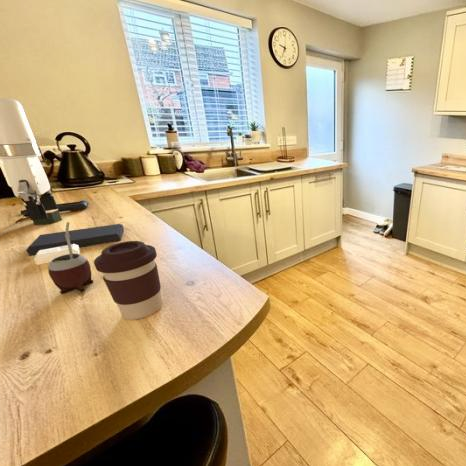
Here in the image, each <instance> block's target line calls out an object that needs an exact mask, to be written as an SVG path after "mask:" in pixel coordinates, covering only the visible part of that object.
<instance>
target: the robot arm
mask: <svg viewBox="0 0 466 466" xmlns="http://www.w3.org/2000/svg"><path fill="white" fill-rule="evenodd" d="M41 156H42V153H41V150H40V147H39V145H38V143H37V140H36V137H35V136H34V133H33V131H32V128H31V125H30V123H29V120H28V118H27V116H26V113H25V111H24V108H23V106H22V104H21V103H20V102H19V101H18V100H16V99H13V98H7V97H0V159H1V160H2V164H3V167H4V171H5V174H6V177H7V180H8V182H9V184H10V187H11V190H12V192H13V194H14V196H15V197H16V198H19V199H20V200H21V201H22V203H23V206H24V208H25V210H27V212H28V214H29V217H28V218H29V219H30V220H31V221H33V220H40V219H47V218H48V216H47V213H46V211H48V210H56V209H58V207H57V204H58V203H57V201H56V199H55V197H54V195H53V192H52V191H50V190H51V184H50V181H49V179H48V176H47V174H46V172H45V169H44V166H43V164H42V163H41V161H40V159H39V157H41ZM52 195H53V196H52ZM33 197H35V199H34V198H33Z"/></svg>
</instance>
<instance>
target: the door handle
mask: <svg viewBox="0 0 466 466" xmlns="http://www.w3.org/2000/svg"><path fill="white" fill-rule="evenodd" d="M56 204H57V207H58V211H59V213H60V214H66V213H71V212H77V211H83V210H87V209H88V205H89V201H88V200H80V201H72V202H65V203H56ZM20 215H21V216H22V217H23V218H30V217H29V214H28V212H27V210H26V209H22V210H20Z"/></svg>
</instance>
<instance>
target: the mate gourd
mask: <svg viewBox="0 0 466 466" xmlns="http://www.w3.org/2000/svg"><path fill="white" fill-rule="evenodd" d="M65 231H66V234H65V237H66V239H67V244H68V249H69V254H67V255H63V256H59V257H57V258H54V259H53V260H52V261H51V262H49V264H48V267H47V270H48V275H49V277H50V279H51V281H52V283H53V284H54V285H55V286H56V288H58V289H59V293H60V295H64V294H66V293H69V292H72V291H74V290H78V291H79V292H81V293H82V292H84V291H86V288H85V286H88V285H90V284H93V283H94V279H92V269H91V268H92V267H91V263H90V261H89V260H88V259H87V258H86V257H85V256H84V255H82V254H81V253H80V254H73V253H72V248H71V243H70V234H69V231H70V221H67V222H66V223H65Z"/></svg>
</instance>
